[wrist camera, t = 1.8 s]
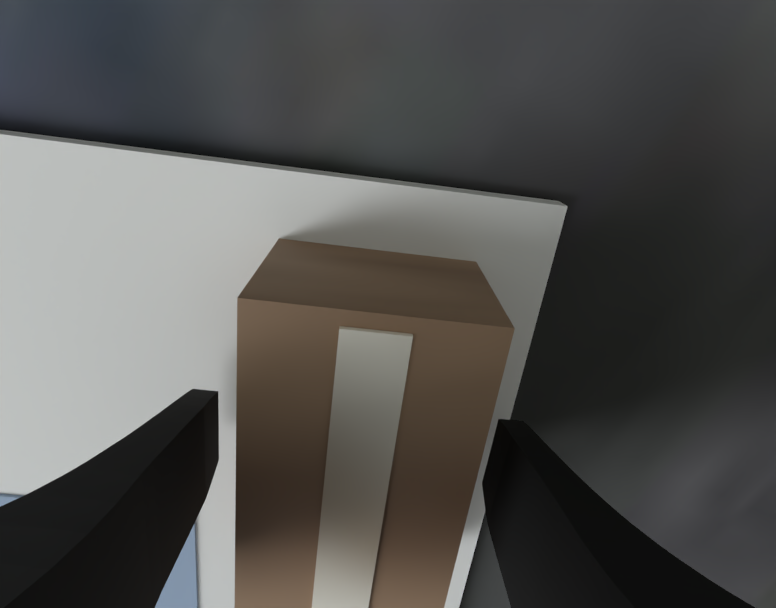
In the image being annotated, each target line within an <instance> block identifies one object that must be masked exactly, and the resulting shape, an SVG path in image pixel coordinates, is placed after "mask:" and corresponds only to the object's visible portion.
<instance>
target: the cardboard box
mask: <svg viewBox="0 0 776 608" xmlns="http://www.w3.org/2000/svg"><path fill="white" fill-rule="evenodd" d="M514 330H515V328H514V326H513V324H512V323H511V321H510V319H509V317H508V316H507V314H506V312H505V311H504V309H503V307H502V305H501V304H500V302H499V300H498V298H497V297H496V295H495V293H494V292H493V290H492V288H491V286H490V285H489V283H488V281H487V279H486V278H485V276H484V274H483V272H482V271H481V269H480V267H479V266H478V264H477V262H475V261H466V260H458V259H449V258H441V257H432V256H424V255H415V254H407V253H399V252H390V251H382V250H373V249H365V248H356V247H348V246H339V245H331V244H323V243H314V242H306V241H297V240H289V239H280V238H279V239H278V240H277V242H276V243H275V245H274V246H273V248H272V249H271V250H270V252H269V253H268V255H267V256H266V258H265V259H264V260H263V262H262V263H261V265H260V266H259V268H258V269H257V270H256V272H255V273H254V275H253V276H252V278H251V279H250V280H249V282H248V283H247V285H246V286H245V288H244V289H243V290H242V292H241V293H240V295H239V296H238V298H237V386H236V498H235V608H444V606H445V602H446V598H447V594H448V590H449V586H450V582H451V578H452V574H453V570H454V567H455V563H456V559H457V555H458V551H459V547H460V543H461V539H462V535H463V531H464V527H465V523H466V519H467V515H468V511H469V507H470V503H471V499H472V495H473V491H474V488H475V484H476V480H477V476H478V472H479V468H480V464H481V460H482V456H483V452H484V448H485V444H486V440H487V436H488V432H489V428H490V424H491V420H492V416H493V413H494V409H495V405H496V401H497V397H498V393H499V389H500V385H501V381H502V377H503V373H504V369H505V365H506V361H507V357H508V353H509V349H510V345H511V341H512V337H513V334H514Z"/></svg>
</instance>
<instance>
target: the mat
mask: <svg viewBox="0 0 776 608" xmlns="http://www.w3.org/2000/svg"><path fill="white" fill-rule="evenodd" d="M567 207H568V206H566V205H565V204H563V203H561V202H559V201H555V200H547V199H539V198H532V197H524V196H516V195H508V194H500V193H492V192H485V191H477V190H469V189H461V188H453V187H446V186H438V185H430V184H422V183H414V182H406V181H399V180H391V179H383V178H375V177H367V176H359V175H352V174H344V173H336V172H328V171H320V170H313V169H305V168H297V167H289V166H281V165H273V164H266V163H258V162H250V161H242V160H234V159H227V158H219V157H211V156H203V155H195V154H187V153H180V152H172V151H164V150H156V149H148V148H140V147H133V146H125V145H117V144H109V143H101V142H94V141H86V140H78V139H70V138H62V137H54V136H47V135H39V134H31V133H23V132H15V131H8V130H0V506H3V505H5V504H7V503H9V502H11V501H13V500H16V499H18V498H20V497H22V496H24V495H26V494H28V493H30V492H32V491H34V490H36V489H38V488H40V487H42V486H44V485H46V484H48V483H49V482H51V481H53V480H55V479H57V478H59V477H61V476H63V475H64V474H66V473H68V472H70V471H71V470H73V469H75V468H77V467H78V466H80V465H82V464H83V463H85V462H87V461H88V460H90V459H91V458H93V457H95V456H96V455H98V454H99V453H101V452H102V451H104V450H105V449H107V448H109V447H110V446H112V445H113V444H115V443H116V442H118V441H120V440H121V439H123V438H124V437H126V436H127V435H129V434H130V433H131V432H133V431H134V430H136V429H137V428H139V427H140V426H141V425H143V424H144V423H146V422H147V421H149V420H150V419H151V418H153V417H154V416H155V415H157V414H158V413H160V412H161V411H162V410H164V409H165V408H166V407H168V406H169V405H170V404H172V403H173V402H175V401H176V400H177V399H179V398H180V397H181V396H183V395H184V394H186V393H187V392H188V391H190V390H191V389H200V390H211V391H218V409H219V461H218V464H217V467H216V470H215V474H214V477H213V480H212V483H211V486H210V488H209V491H208V494H207V497H206V500H205V502H204V504H203V506H202V508H201V511H200V513H199V515H198V517H197V519H196V521H195V523H194V525H193V527H192V530H191V532H190V534H189V536H188V538H187V540H186V542H185V544H184V546H183V548H182V550H181V552H180V555H179V557H178V559H177V561H176V563H175V565H174V567H173V569H172V571H171V573H170V575H169V577H168V579H167V582H166V584H165V586H164V588H163V590H162V592H161V595H160V597H159V599H158V601H157V604H156V606H155V608H235V498H236V386H237V298H238V296H239V295H240V293H241V292H242V290H243V289H244V288H245V286H246V285H247V283H248V282H249V280H250V279H251V278H252V276H253V275H254V273H255V272H256V270H257V269H258V268H259V266H260V265H261V263H262V262H263V260H264V259H265V258H266V256H267V255H268V253H269V252H270V250H271V249H272V248H273V246H274V245H275V243H276V242H277V240H278V239H279V238H280V239H289V240H297V241H306V242H314V243H323V244H331V245H339V246H348V247H356V248H365V249H373V250H382V251H390V252H399V253H407V254H415V255H424V256H432V257H441V258H449V259H458V260H466V261H475V262H477V264H478V266H479V267H480V269H481V271H482V272H483V274H484V276H485V278H486V279H487V281H488V283H489V285H490V286H491V288H492V290H493V292H494V293H495V295H496V297H497V298H498V300H499V302H500V304H501V305H502V307H503V309H504V311H505V312H506V314H507V316H508V317H509V319H510V321H511V323H512V324H513V326H514V328H515V330H514V334H513V337H512V341H511V345H510V349H509V353H508V357H507V361H506V365H505V369H504V373H503V377H502V381H501V385H500V389H499V393H498V397H497V401H496V405H495V409H494V413H493V416H492V420H491V424H490V428H489V432H488V436H487V440H486V444H485V448H484V452H483V456H482V460H481V464H480V468H479V472H478V476H477V480H476V484H475V488H474V491H473V495H472V499H471V503H470V507H469V511H468V515H467V519H466V523H465V527H464V531H463V535H462V539H461V543H460V547H459V551H458V555H457V559H456V563H455V567H454V570H453V574H452V578H451V582H450V586H449V590H448V594H447V598H446V602H445V606H444V608H459V606H460V602H461V599H462V595H463V591H464V588H465V584H466V580H467V576H468V573H469V569H470V565H471V562H472V558H473V554H474V551H475V547H476V543H477V540H478V536H479V532H480V528H481V525H482V521H483V517H484V514H485V503H484V496H483V488H482V481H483V477H484V473H485V469H486V465H487V462H488V458H489V454H490V450H491V446H492V442H493V438H494V435H495V431H496V427H497V423H498V419H506V420H510V418H511V414H512V410H513V407H514V403H515V399H516V395H517V392H518V388H519V384H520V381H521V377H522V373H523V370H524V366H525V362H526V358H527V355H528V351H529V347H530V344H531V340H532V336H533V333H534V329H535V325H536V322H537V318H538V314H539V310H540V307H541V303H542V299H543V296H544V292H545V288H546V285H547V281H548V277H549V273H550V270H551V266H552V262H553V259H554V255H555V251H556V248H557V244H558V240H559V237H560V233H561V229H562V225H563V222H564V218H565V214H566V211H567Z"/></svg>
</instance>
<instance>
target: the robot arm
mask: <svg viewBox="0 0 776 608" xmlns="http://www.w3.org/2000/svg"><path fill="white" fill-rule="evenodd" d="M218 461H219V409H218V391H211V390H200V389H191V390H190V391H188V392H187V393H186V394H184V395H183V396H181V397H180V398H179V399H177V400H176V401H175V402H173V403H172V404H170V405H169V406H168V407H166V408H165V409H164V410H162V411H161V412H160V413H158V414H157V415H155V416H154V417H153V418H151V419H150V420H149V421H147V422H146V423H144V424H143V425H141V426H140V427H139V428H137V429H136V430H134V431H133V432H131V433H130V434H129V435H127V436H126V437H124V438H123V439H121V440H120V441H118V442H116V443H115V444H113V445H112V446H110V447H109V448H107V449H105V450H104V451H102V452H101V453H99V454H98V455H96V456H95V457H93V458H91V459H90V460H88V461H87V462H85V463H83V464H82V465H80V466H78V467H77V468H75V469H73V470H71V471H70V472H68V473H66V474H64V475H63V476H61V477H59V478H57V479H55V480H53V481H51V482H49V483H48V484H46V485H44V486H42V487H40V488H38V489H36V490H34V491H32V492H30V493H28V494H26V495H24V496H22V497H20V498H18V499H16V500H13V501H11V502H9V503H7V504H5V505H3V506H0V608H155V606H156V604H157V601H158V599H159V597H160V595H161V592H162V590H163V588H164V586H165V584H166V582H167V579H168V577H169V575H170V573H171V571H172V569H173V567H174V565H175V563H176V561H177V559H178V557H179V555H180V552H181V550H182V548H183V546H184V544H185V542H186V540H187V538H188V536H189V534H190V532H191V530H192V527H193V525H194V523H195V521H196V519H197V517H198V515H199V513H200V511H201V508H202V506H203V504H204V502H205V500H206V497H207V494H208V491H209V488H210V486H211V483H212V480H213V477H214V474H215V470H216V467H217V464H218ZM482 488H483V496H484V503H485V510H486V516H487V522H488V526H489V530H490V534H491V537H492V541H493V545H494V548H495V552H496V556H497V559H498V563H499V566H500V570H501V573H502V577H503V580H504V584H505V587H506V591H507V594H508V598H509V601H510V605H511V608H755V607H753V606H751V605H750V604H748V603H746V602H744V601H743V600H741V599H739V598H738V597H736V596H734V595H733V594H731V593H729V592H728V591H726V590H725V589H723V588H721V587H720V586H718V585H717V584H715V583H714V582H712V581H710V580H709V579H707V578H706V577H704V576H703V575H701V574H700V573H698V572H697V571H695V570H694V569H692V568H691V567H690V566H688V565H687V564H685V563H684V562H682V561H681V560H679V559H678V558H676V557H675V556H673V555H672V554H671V553H669V552H668V551H667V550H665V549H664V548H662V547H661V546H660V545H658V544H657V543H656V542H654V541H653V540H652V539H651V538H649V537H648V536H647V535H645V534H644V533H643V532H641V531H640V530H639V529H638V528H636V527H635V526H634V525H632V524H631V523H630V522H629V521H628V520H626V519H625V518H624V517H623V516H621V515H620V514H619V513H618V512H617V511H616V510H615V509H613V508H612V507H611V506H610V505H609V504H608V503H607V502H605V501H604V500H603V499H602V498H601V497H600V496H599V495H598V494H596V493H595V492H594V491H593V490H592V489H591V488H590V487H589V486H588V485H587V484H586V483H585V482H584V481H583V480H582V479H580V478H579V477H578V476H577V475H576V474H575V473H574V472H573V471H572V470H571V469H570V468H569V467H568V466H567V465H566V464H565V463H564V462H563V461H562V460H561V459H560V458H559V457H558V456H557V455H556V454H555V453H554V452H553V451H552V450H551V449H550V448H549V447H548V446H547V445H546V443H545V442H544V441H543V440H542V439H541V438H540V437H539V436H538V435H537V434H536V433H535V432H534V431H533V430H532V429H531V428H530V427H529V426H528V425H527V424H525V423H524V422H523V421H517V420H506V419H498V423H497V427H496V431H495V435H494V438H493V442H492V446H491V450H490V454H489V458H488V462H487V465H486V469H485V473H484V477H483V481H482Z"/></svg>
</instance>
